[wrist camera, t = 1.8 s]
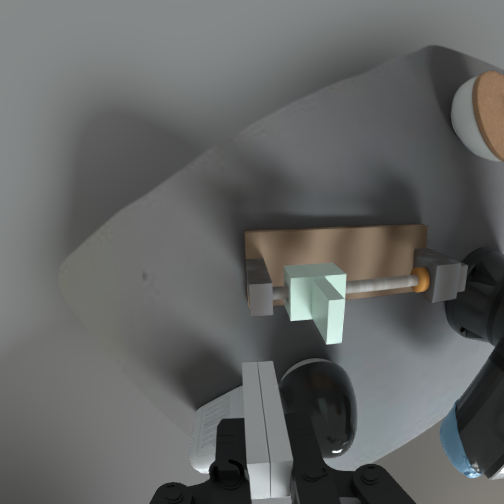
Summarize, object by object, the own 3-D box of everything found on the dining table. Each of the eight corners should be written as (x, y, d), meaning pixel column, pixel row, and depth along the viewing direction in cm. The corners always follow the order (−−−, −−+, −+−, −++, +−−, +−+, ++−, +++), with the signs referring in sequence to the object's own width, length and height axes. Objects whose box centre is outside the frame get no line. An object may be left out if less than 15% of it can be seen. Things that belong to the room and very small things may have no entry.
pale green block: (332, 262, 29) (368, 293, 21) (331, 299, 30) (363, 341, 22) (283, 265, 29) (302, 300, 21) (284, 304, 30) (301, 349, 21)
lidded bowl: (426, 83, 32) (475, 63, 21) (479, 84, 32) (524, 72, 21) (448, 168, 35) (502, 168, 24) (497, 158, 35) (546, 159, 24)
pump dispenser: (259, 390, 41) (268, 471, 26) (298, 336, 39) (328, 412, 24) (315, 410, 42) (339, 483, 27) (354, 361, 40) (397, 430, 26)
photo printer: (210, 424, 42) (205, 484, 30) (192, 409, 41) (182, 469, 29) (263, 396, 41) (271, 458, 29) (245, 379, 40) (249, 442, 28)
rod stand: (421, 224, 36) (473, 239, 26) (416, 287, 38) (462, 316, 28) (244, 230, 35) (247, 251, 25) (248, 302, 37) (252, 347, 27)
